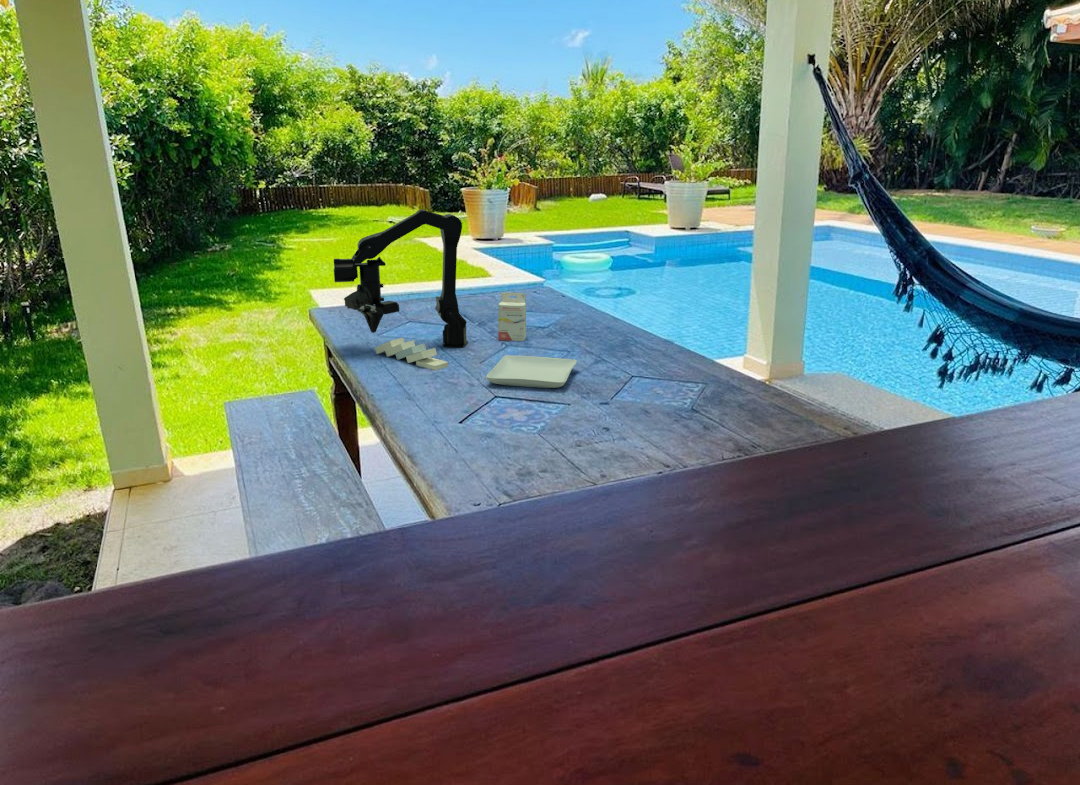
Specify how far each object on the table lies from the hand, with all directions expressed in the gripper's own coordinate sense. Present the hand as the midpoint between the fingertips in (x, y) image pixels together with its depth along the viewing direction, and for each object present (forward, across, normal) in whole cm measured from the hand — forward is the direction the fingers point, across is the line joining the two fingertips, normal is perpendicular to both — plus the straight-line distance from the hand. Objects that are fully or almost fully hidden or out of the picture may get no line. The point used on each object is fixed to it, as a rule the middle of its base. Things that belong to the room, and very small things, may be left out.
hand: (373, 332), depth 232 cm
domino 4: (+5, +18, 0) cm, 19 cm away
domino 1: (+5, +3, 0) cm, 6 cm away
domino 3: (+5, +13, 0) cm, 14 cm away
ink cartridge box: (+6, +23, +37) cm, 44 cm away
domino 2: (+5, +8, 0) cm, 9 cm away
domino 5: (+5, +22, 0) cm, 22 cm away
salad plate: (+6, +55, +9) cm, 56 cm away
